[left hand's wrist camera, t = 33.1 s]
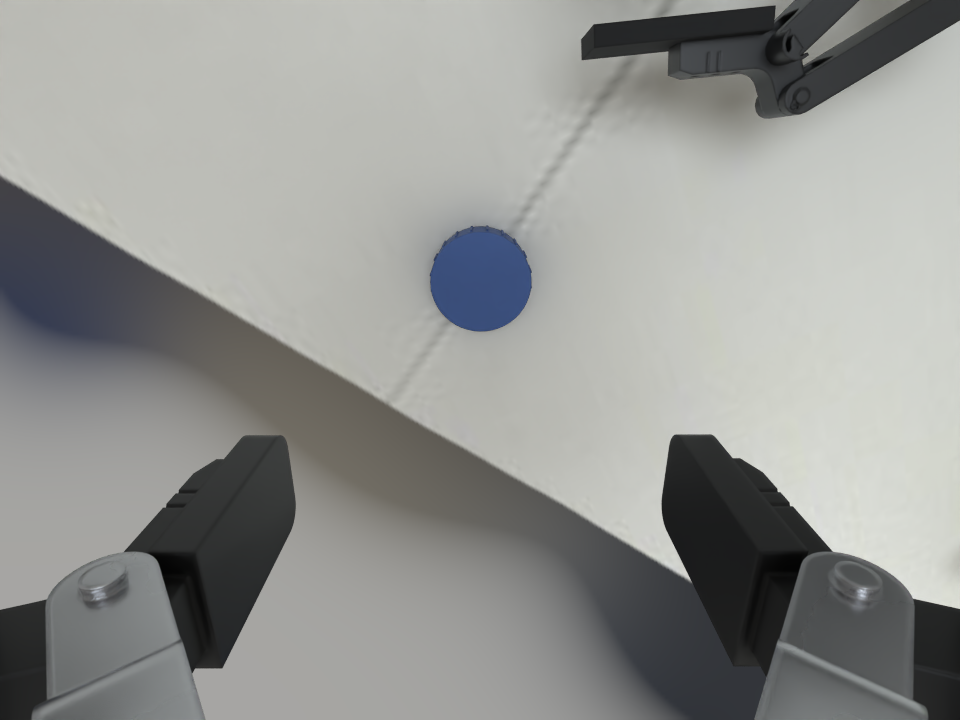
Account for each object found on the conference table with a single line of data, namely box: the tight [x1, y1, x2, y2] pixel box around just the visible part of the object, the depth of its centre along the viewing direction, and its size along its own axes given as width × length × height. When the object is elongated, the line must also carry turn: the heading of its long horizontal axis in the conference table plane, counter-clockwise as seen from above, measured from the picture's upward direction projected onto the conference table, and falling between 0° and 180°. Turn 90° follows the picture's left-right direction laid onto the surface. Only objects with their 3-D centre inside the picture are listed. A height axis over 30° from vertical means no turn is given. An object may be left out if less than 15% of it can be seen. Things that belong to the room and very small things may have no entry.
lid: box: [430, 226, 532, 331], centre depth 29 cm, size 5×5×2 cm
